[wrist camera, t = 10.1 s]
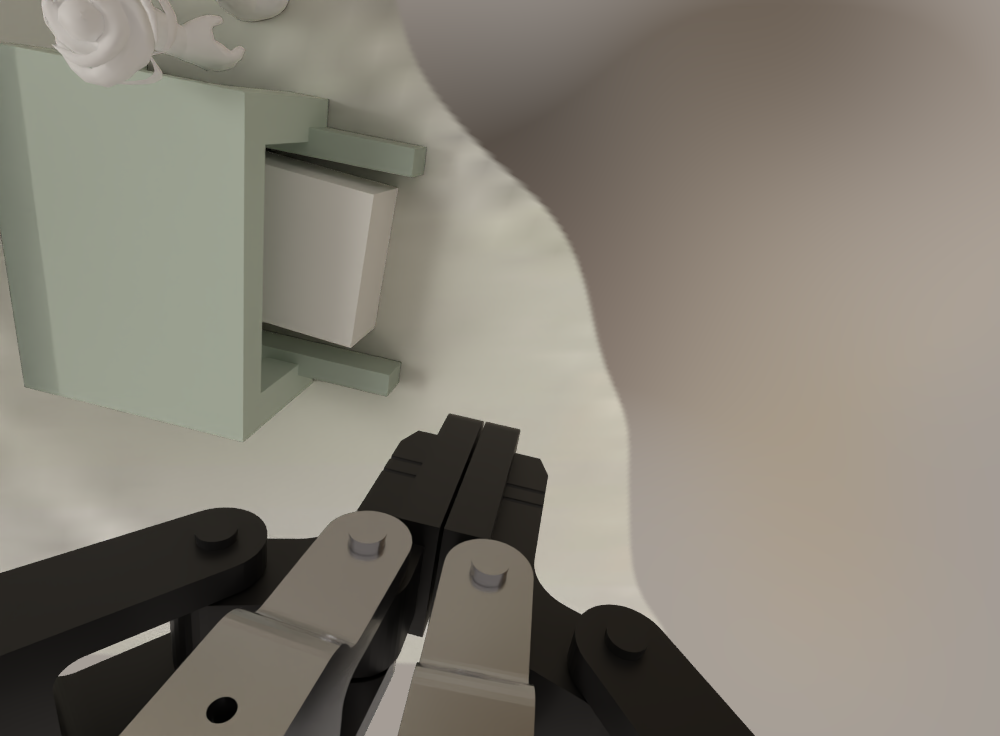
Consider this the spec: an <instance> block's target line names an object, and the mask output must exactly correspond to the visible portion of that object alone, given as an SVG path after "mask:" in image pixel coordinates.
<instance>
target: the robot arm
mask: <svg viewBox="0 0 1000 736" xmlns="http://www.w3.org/2000/svg"><path fill="white" fill-rule="evenodd" d="M483 426H484V428H483ZM519 435H520V429H516V428H511V427H507V426H503V425H498V424H494V423H490V422H486V423H485V425H484V422H483V421H480V420H476V419H472V418H467V417H463V416H459V415H454V414H448V416H447V418H446V420H445V422H444V424H443V426H442V427H441V429H440V431H439V433H438V435H435V434H431V433H426V432H422V431H417V432H416V433H414V434H412V435H410V436H409V437H407V438H405V439H403V440H402V441H401V442H400V443H399V445H398V446H397V448H396V450H395V451H394V453H393V454H392V457H391V459H389V461H388V462H387V464H386V466H385V467H384V470H383V471H382V472H381V473H380V475H379V477H378V478H377V480H376V481H375V483H374V485H373V486H372V488H371V489H370V491H369V493H368V494H367V496H366V497H365V499H364V501H363V502H362V504H361V505H360V507H359V509H358V510H357V512H352V513H348V514H345V515H342V516H340V517H338V518H336V519H335V520H333V521H332V522H331V523H330V524H329V525H328V526H327V527H326V528H325V529H324V530H323V532H322V533H321V534H320V535H319V536H318V537H315V538H308V539H267V529H266V526H265V524H264V522H263V521H262V520H261V519H260V518H259V517H258V516H256V515H255V514H253V513H251V512H249V511H246V510H242V509H237V508H214V509H208V510H204V511H200V512H197V513H193V514H190V515H187V516H184V517H180V518H177V519H174V520H171V521H167V522H164V523H161V524H158V525H155V526H151V527H148V528H145V529H142V530H138V531H135V532H132V533H129V534H125V535H122V536H119V537H116V538H112V539H109V540H106V541H103V542H99V543H96V544H93V545H90V546H87V547H83V548H80V549H77V550H74V551H70V552H67V553H64V554H61V555H57V556H54V557H51V558H48V559H44V560H41V561H38V562H35V563H32V564H28V565H25V566H22V567H19V568H15V569H12V570H9V571H6V572H2V573H0V736H364V735H365V733H366V731H367V729H368V726H369V724H370V722H371V720H372V718H373V716H374V714H375V712H376V710H377V708H378V706H379V703H380V701H381V699H382V697H383V695H384V693H385V691H386V689H387V687H388V685H389V682H390V680H391V678H392V676H393V673H394V670H395V663H396V659H397V658H398V656H399V654H400V652H401V649H402V646H403V644H404V641H405V639H406V636H407V633H408V634H412V635H416V636H420V637H423V634H424V631H425V628H426V625H427V622H428V620H429V624H428V630H427V634H426V638H425V642H424V646H423V650H422V654H421V658H420V661H419V662H417V664H416V667H415V670H414V674H413V677H412V681H411V685H410V689H409V693H408V697H407V701H406V705H405V709H404V713H403V717H402V720H401V724H400V729H399V732H398V736H755V735H754V734H753V733H752V732H751V731H750V730H749V729H748V727H747V726H746V725H745V724H744V723H743V722H742V721H741V720H740V718H739V717H738V716H737V715H736V714H735V713H734V712H733V710H732V709H731V708H730V707H729V706H728V705H727V704H726V702H724V700H723V699H722V698H721V697H720V696H719V695H718V693H716V691H715V690H714V689H713V688H712V687H711V685H710V684H709V683H708V682H707V681H706V680H705V679H704V678H703V676H702V675H701V674H700V673H699V672H698V671H697V670H696V669H695V668H694V667H693V665H692V664H691V663H690V662H689V661H688V659H686V657H685V656H684V655H683V654H682V653H681V652H680V651H679V649H678V648H677V647H676V646H675V645H674V644H673V643H672V642H671V640H670V639H669V638H668V637H667V636H666V635H665V633H664V632H663V631H662V630H661V629H660V628H659V627H658V626H657V625H656V624H655V623H654V622H653V621H651V620H650V619H649V618H647V617H646V616H644V615H642V614H641V613H639V612H637V611H635V610H632V609H630V608H627V607H623V606H618V605H600V606H595V607H593V608H591V609H588V610H587V611H586V612H584V613H583V614H582V615H581V614H579V613H578V612H576V611H574V610H572V609H570V608H568V607H566V606H565V605H563V604H561V603H560V602H558V601H557V600H556V599H554V598H553V597H552V596H551V595H550V594H549V593H548V592H547V591H546V590H545V589H544V588H543V587H542V585H541V584H540V582H539V580H538V578H537V576H536V573H535V569H534V559H535V553H536V547H537V541H538V534H539V528H540V522H541V516H542V510H543V504H544V497H545V491H546V485H547V479H548V474H547V472H546V470H545V468H544V466H543V464H542V462H541V460H540V459H538V458H534V457H530V456H525V455H521V454H517V453H516V449H517V444H518V440H519ZM429 617H430V618H429ZM169 621H170V630H171V632H170V633H168V634H166V635H163V636H161V637H159V638H156V639H154V640H152V641H149V642H147V643H144V644H142V645H140V646H137V647H135V648H133V649H130V650H128V651H125V652H123V653H121V654H118V655H116V656H114V657H111V658H109V659H106V660H104V661H102V662H99V663H97V664H95V665H92V666H90V667H88V668H85V669H83V670H80V671H78V672H76V673H73V674H70V675H66V676H59V677H58V675H59V674H60V673H61V672H62V671H63V670H64V669H65V668H66V667H67V666H68V665H70V664H71V663H73V662H74V661H76V660H78V659H80V658H82V657H84V656H86V655H89V654H91V653H94V652H96V651H98V650H101V649H103V648H106V647H108V646H111V645H113V644H116V643H118V642H120V641H123V640H125V639H128V638H130V637H133V636H135V635H137V634H140V633H142V632H145V631H147V630H150V629H152V628H155V627H157V626H159V625H162V624H164V623H167V622H169Z"/></svg>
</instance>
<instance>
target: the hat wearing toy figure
mask: <svg viewBox="0 0 1000 736" xmlns="http://www.w3.org/2000/svg"><path fill="white" fill-rule="evenodd" d="M216 1H217V3H218V4H219V5H220V6H221V7H222V8H223V9H224V10H225V11H226V12H227V13H229V14H231V15H232V16H234V17H235V18H237V19H239V20H242V21H249V22H255V21H260V20H265V19H270V18H272V17H274V16H276V15H278V14H279V13H281V12H282V11H283V10H284V9H285V7H286V5H287V3H288V1H289V0H216ZM159 2H160V4H161V6H162V8H163V10H164V12H165V13H164V12H163V11H161V10H160V9H158V8H155V7H154V6H153V4H152V2H151V0H53V2H52V0H42V3H41V5H42V11H43V17H44V22H45V23H46V25H47V26H48V28H49V29H50V30H51V32H52V33H53V34H54V36H55V42H56V44H57V45H54V44H51V45H52V46H53V47H54V48H55V49H56V50H57V51H58V52H59V53H61V54H62V56H63V57H64V59H65V61H66V62H67V64H68V65H69V67H70V68H71V70H73V71H74V72H75V73H76V74H77V75H78V76H79V77H80V78H81V79H82V80H83V81H85V82H87V83H91V84H95V85H99V86H103V87H107V88H109V87H111V86H114V85H116V84H125V85H144V84H152V83H156V82H157V81H159V80H161V79H162V77H163V74H162V70H161V69H160V68H159V66H158V65H157V63H156V62H155V60H154V59H153V57H152V55H156V54H161V53H165V54H168V55H171V56H174V57H177V58H179V59H181V60H183V61H186V62H189V63H192V64H195V65H196V66H198V67H200V68H202V69H204V70H206V71H207V70H213V71H216V72H219V71H225V70H229V69H231V68H233V67H234V66H235V65H236V63H237V62H238V61H240V60H241V59H242V57H243V55H244V53H245V49H244V48H243V47H241V46H238V47H235V48H234V49H233V50H229V49H227V48H226V47H225V46H224V45H223V44H221V43H220V42H218V41H216V40H215V39H214V35H213V31H212V29H213V27H214V26H217V25H219V24H221V23H222V22H223V19H222V17H221V16H217V15H203V16H200V17H197V18H194V19H192V20H190V21H187V22H186V23H184V24H183V25H179V24H178V23H177V16H176V14H175V12H174V10H173V8H172V6H171V4H170V2H169V1H168V0H159ZM71 50H72V51H73V52H72V51H71ZM154 50H156V51H158V52H154ZM150 60H151V62H152V64H153V66H154V70H155V71H154V73H153V75H152V76H150V77H149V78H147V79H145V80H137V81H126V80H128V79H130V78H131V77H132V76H133V75H134V74H135V73H136V72H137V71H139V70H140V69H142V68H143V67H145V66H146V65H147V64H148V63H149V62H150ZM89 67H92V68H89Z"/></svg>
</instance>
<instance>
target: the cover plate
mask: <svg viewBox="0 0 1000 736" xmlns="http://www.w3.org/2000/svg"><path fill="white" fill-rule="evenodd" d="M397 192H398V188H397V187H394V186H390V185H387V184H383V183H379V182H376V181H372V180H369V179H365V178H361V177H358V176H354V175H351V174H347V173H344V172H340V171H336V170H333V169H329V168H326V167H322V166H318V165H315V164H311V163H308V162H304V161H301V160H297V159H293V158H290V157H286V156H283V155H279V154H275V153H272V152H268V151H265V190H264V244H263V299H262V322H265V323H269V324H272V325H275V326H279V327H282V328H285V329H289V330H292V331H295V332H299V333H302V334H305V335H309V336H312V337H316V338H319V339H322V340H326V341H329V342H332V343H336V344H339V345H342V346H346V347H349V348H351V347H352V346H354V345H355V344H356V343H357V342H358V341H359V340H361V339H362V338H363V337H364V336H365V335H367V334H368V333H369V332H370V331H371V330H372V329H374V328H375V324H376V318H377V312H378V306H379V300H380V294H381V288H382V282H383V276H384V270H385V264H386V258H387V252H388V246H389V240H390V234H391V228H392V222H393V216H394V210H395V204H396V198H397Z"/></svg>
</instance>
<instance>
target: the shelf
mask: <svg viewBox="0 0 1000 736" xmlns="http://www.w3.org/2000/svg"><path fill="white" fill-rule="evenodd" d="M89 68H92V67H89ZM153 73H154V72H153V71H148V70H147V65H146V66H145V67H143V68H142V69H140V70H139V71H137V72H136V73H135V74H134V75H133V76H132V77H131V78H130V79H128V80H126V81H137V80H145V79H147V78H149V77H150V76H152V75H153ZM162 74H163V73H162ZM328 100H329V99H324V98H319V97H314V96H309V95H304V94H299V93H294V92H286V91H276V90H266V89H256V88H246V87H236V86H226V85H219V84H214V83H208V82H203V81H198V80H193V79H188V78H183V77H178V76H173V75H168V74H163V77H162V79H161V80H159V81H157V82H156V83H152V84H144V85H125V84H116V85H114V86H111V87H109V88H107V87H103V86H99V85H95V84H91V83H87V82H85V81H83V80H82V79H81V78H80V77H79V76H78V75H77V74H76V73H75V72H74V71H73V70H71V68H70V67H69V65H68V64H67V62H66V61H65V59H64V57H63V56H62V54H61V53H59V52H58V51H57V50H56V49H49V48H42V47H35V46H27V45H20V44H12V43H5V42H0V231H1V238H2V244H3V251H4V257H5V263H6V270H7V276H8V283H9V289H10V296H11V302H12V309H13V315H14V321H15V328H16V334H17V341H18V347H19V354H20V360H21V367H22V373H23V380H24V386H25V387H27V388H30V389H34V390H38V391H42V392H46V393H50V394H54V395H58V396H62V397H66V398H70V399H74V400H78V401H82V402H86V403H90V404H94V405H98V406H101V407H105V408H109V409H113V410H117V411H121V412H125V413H129V414H133V415H137V416H141V417H145V418H149V419H153V420H157V421H161V422H165V423H169V424H172V425H176V426H180V427H184V428H188V429H192V430H196V431H200V432H204V433H208V434H212V435H216V436H220V437H224V438H228V439H232V440H236V441H239V442H244V441H245V440H246V439H247V438H249V437H250V436H251V435H252V434H253V433H254V432H256V431H257V430H258V429H259V428H260V427H261V426H263V425H264V424H265V423H266V422H267V421H268V420H270V419H271V418H272V417H273V416H274V415H275V414H276V413H278V412H279V411H280V410H281V409H282V408H283V407H285V406H286V405H287V404H288V403H289V402H290V401H292V400H293V399H294V398H295V397H296V396H297V395H299V394H300V393H301V392H302V391H303V390H304V389H306V388H307V387H308V386H309V385H310V384H311V383H313V379H316V380H320V381H324V382H328V383H332V384H336V385H341V386H345V387H349V388H353V389H357V390H361V391H366V392H370V393H374V394H378V395H382V396H386V397H387V396H388V395H389V394H390V393H391V391H392V390H393V389H394V388H395V387H396V385H397V384H398V383H399V375H400V367H401V362H397V361H393V360H389V359H384V358H380V357H376V356H372V355H367V354H363V353H359V352H355V351H350V350H346V349H342V348H338V347H333V346H329V345H325V344H320V343H316V342H312V341H308V340H303V339H299V338H295V337H291V336H286V335H282V334H278V333H274V332H269V331H265V330H262V299H263V244H264V190H265V148H270V149H275V150H280V151H285V152H290V153H294V154H299V155H304V156H309V157H314V158H319V159H324V160H329V161H333V162H338V163H343V164H348V165H353V166H358V167H363V168H367V169H372V170H377V171H382V172H387V173H392V174H397V175H402V176H406V177H411V178H412V177H416V176H419V175H423V174H424V165H425V157H426V148H427V147H423V146H418V145H413V144H408V143H403V142H398V141H393V140H388V139H383V138H378V137H373V136H368V135H363V134H358V133H353V132H348V131H343V130H338V129H333V128H328V127H327V118H328Z"/></svg>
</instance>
